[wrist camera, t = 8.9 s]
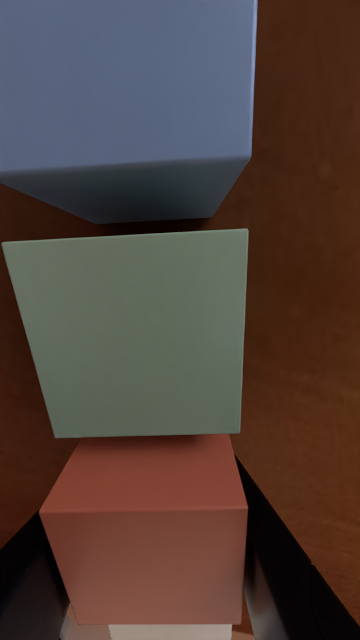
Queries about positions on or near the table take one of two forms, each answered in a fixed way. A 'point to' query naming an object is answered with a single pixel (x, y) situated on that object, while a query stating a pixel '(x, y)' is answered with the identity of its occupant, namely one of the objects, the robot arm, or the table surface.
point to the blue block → (126, 104)
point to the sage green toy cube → (136, 330)
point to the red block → (150, 530)
